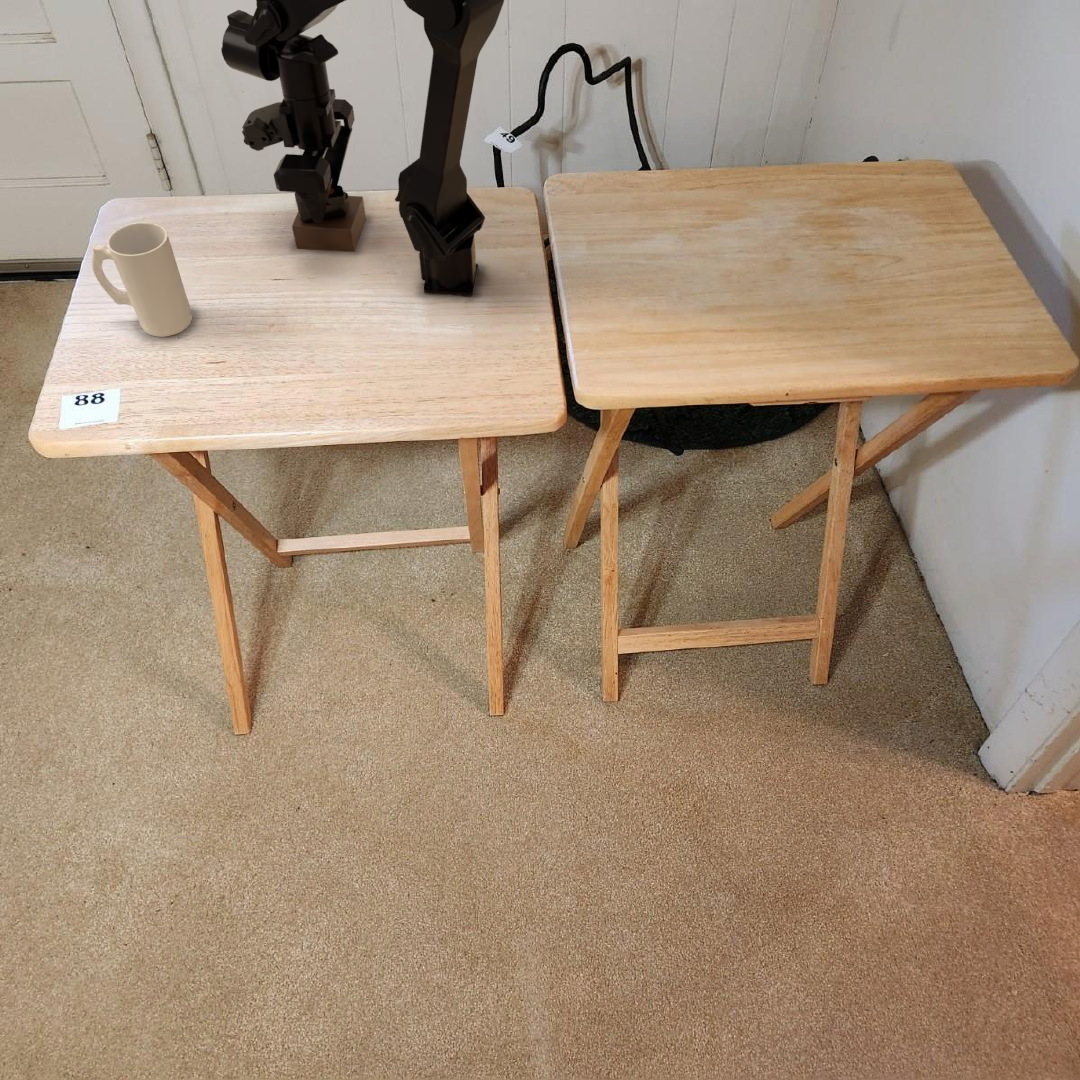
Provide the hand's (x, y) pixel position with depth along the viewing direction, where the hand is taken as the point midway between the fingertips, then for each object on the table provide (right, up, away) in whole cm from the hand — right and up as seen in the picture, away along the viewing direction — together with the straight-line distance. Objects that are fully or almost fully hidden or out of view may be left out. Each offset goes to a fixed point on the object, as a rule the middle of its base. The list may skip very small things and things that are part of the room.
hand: (326, 203), depth 131 cm
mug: (-20, -18, -9) cm, 28 cm away
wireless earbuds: (0, -1, +1) cm, 1 cm away
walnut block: (0, -3, +4) cm, 5 cm away
